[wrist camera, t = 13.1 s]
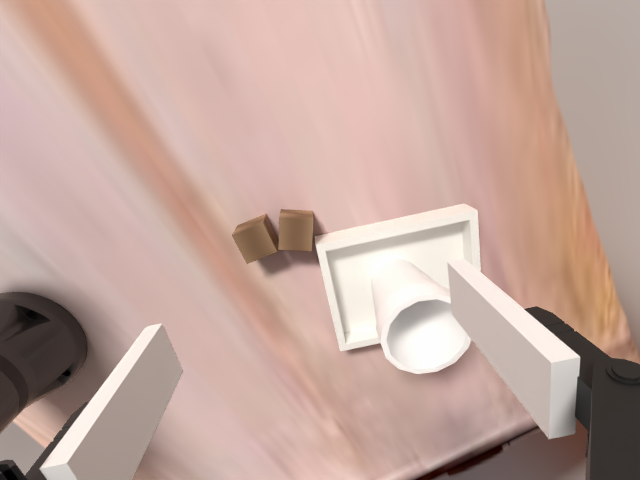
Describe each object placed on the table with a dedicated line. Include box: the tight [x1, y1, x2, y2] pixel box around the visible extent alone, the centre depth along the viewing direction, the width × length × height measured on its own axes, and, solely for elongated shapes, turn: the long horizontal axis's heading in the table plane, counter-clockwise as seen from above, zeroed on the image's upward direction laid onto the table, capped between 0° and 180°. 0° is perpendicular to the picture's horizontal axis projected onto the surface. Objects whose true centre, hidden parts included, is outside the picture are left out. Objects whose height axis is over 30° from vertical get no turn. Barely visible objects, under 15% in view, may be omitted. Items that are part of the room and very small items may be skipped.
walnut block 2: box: [279, 209, 314, 251], centre depth 42 cm, size 4×4×4 cm
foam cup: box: [371, 257, 471, 374], centre depth 40 cm, size 10×9×13 cm
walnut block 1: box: [232, 214, 279, 264], centre depth 42 cm, size 4×4×4 cm
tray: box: [315, 204, 481, 351], centre depth 45 cm, size 20×16×4 cm
